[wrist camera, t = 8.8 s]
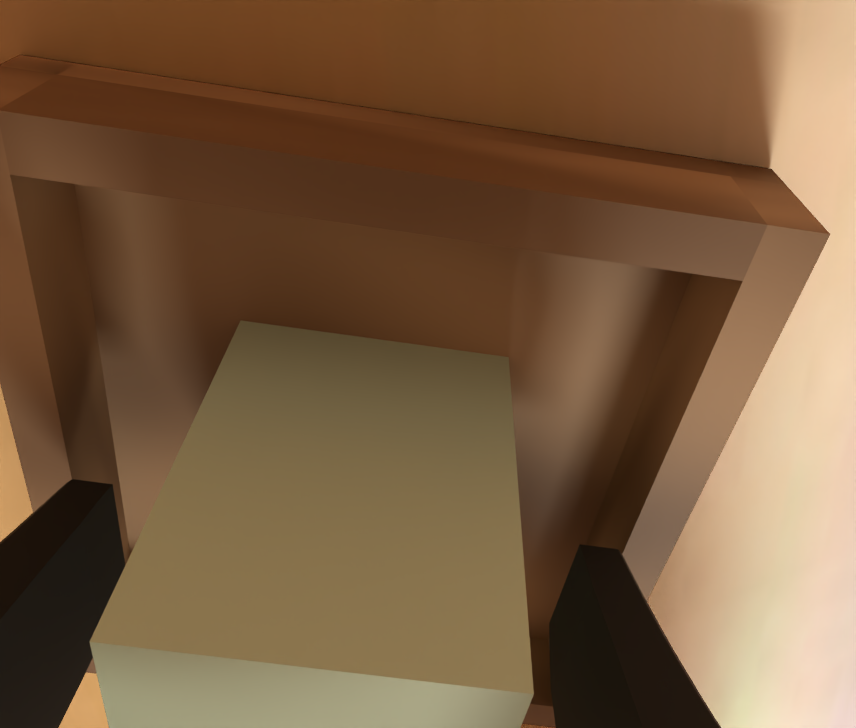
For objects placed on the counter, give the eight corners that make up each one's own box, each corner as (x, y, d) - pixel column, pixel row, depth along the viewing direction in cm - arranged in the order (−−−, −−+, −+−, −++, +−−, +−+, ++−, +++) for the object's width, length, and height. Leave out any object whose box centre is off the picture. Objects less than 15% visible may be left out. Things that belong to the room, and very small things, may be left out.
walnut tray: (570, 641, 18) (582, 731, 16) (114, 585, 17) (73, 670, 16) (771, 169, 11) (830, 234, 9) (19, 54, 11) (-72, 100, 9)
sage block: (465, 535, 15) (462, 872, 10) (243, 507, 15) (134, 835, 10) (508, 357, 12) (533, 693, 8) (240, 320, 12) (90, 641, 7)
